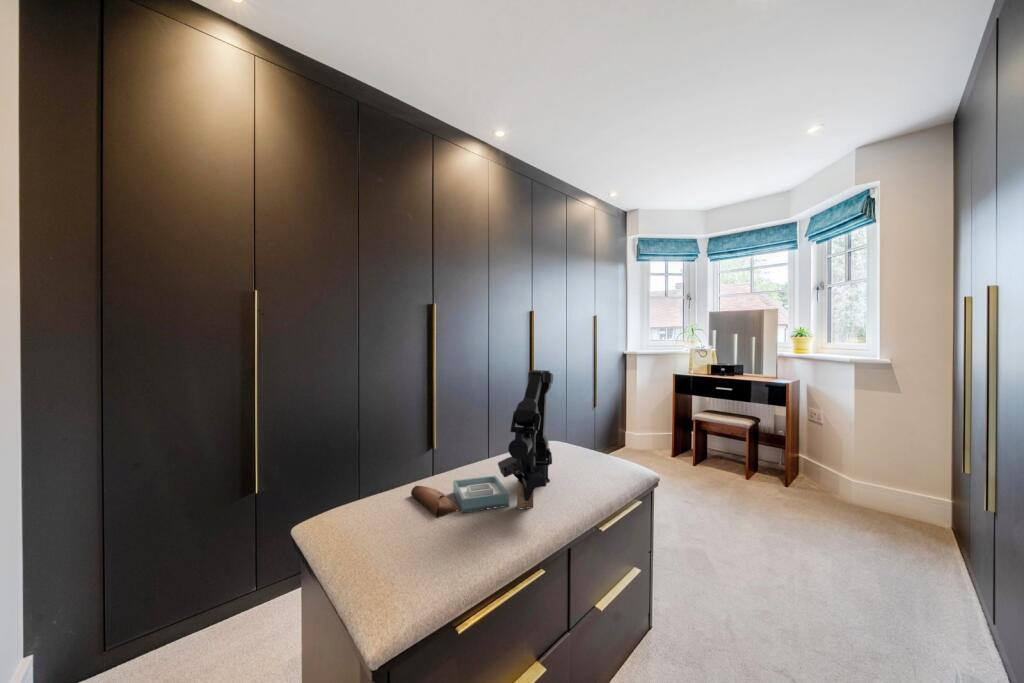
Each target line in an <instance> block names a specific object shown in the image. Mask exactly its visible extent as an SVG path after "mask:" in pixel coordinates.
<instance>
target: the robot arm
mask: <svg viewBox="0 0 1024 683" xmlns="http://www.w3.org/2000/svg"><path fill="white" fill-rule="evenodd" d="M553 381H554V374H553V373H552V372H551V371H550V370H545V369H543V370H542V369H541V370H540V369H532V370H530V371H528V372H527V385H526V389H525V392H524V397H523V398H522V400H521V401H520V402H518V404H517V406H516V409H515V410H514V411H513V415H512V420H511V424H510V425H511V426H510V430H509V431H510V433H514V434H515V435H514V437H513V439H512V440H511V441H510V442H509V445H508V449H507V450H508V453H509V455H510V456H509V457H506V458H504V459H502V460H499V462H497V466H498V469H499V471H500V474H501V475H502V476H503V477H504V478H507V477H509V476H514V477H515V478H516V479H517V480H519V482H520V483H521V484H522V485H523V490H524V497H525V501H529V499H530V497H531V495H532V493H533V494H534V491H535V489H536V488H543V487H544V488H545V487H546V486H547V483H549V482H550V481H551V480H550V478H549V466H550V465H553V455H552V452H551V449H550V448H549V446H550V443H549V440H548V438H547V437H546V435H545V434H546V412H547V409H546V408H547V395H548V393H549V392H550V390H551V388H552V384H553Z"/></svg>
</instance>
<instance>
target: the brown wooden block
mask: <svg viewBox="0 0 1024 683" xmlns="http://www.w3.org/2000/svg"><path fill="white" fill-rule="evenodd" d="M516 487H517V488H516V489H517V491H516V497H517V498H516V506H517V505H518V506H517V508H518V507H519V508H526V509H528V508H527V507H532V508H534V492H533V493H532V495H531V497H530V499H529V501H525V497H524V490H523V485H522V484H521V483H520V482H519V480H518V479H517V486H516ZM519 508H518V509H519Z"/></svg>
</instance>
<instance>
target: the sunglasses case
mask: <svg viewBox="0 0 1024 683" xmlns="http://www.w3.org/2000/svg"><path fill="white" fill-rule="evenodd" d="M410 494H411V496H412V497H413V498H414V499H416V500H417V501H418V502H420V503H421V504H422V505H423V506H425V508H427V509H428V510H429V511H430V512H431V513H432V514H433V515H434V516H435V517H436V518H438V519H439V518H441V517H443V516H447V515H450V514H452V512H453V513H455V512H457V511H456V510H458V509H459V510H460V507H459V506H457V505H456V504H455V503H454V502H452V500H450V499H449V498H448V497H447V496H445V493H443V492H442V491H440V490H437V489H435V488H432V487H427V486H425V485H415V486H413V488H412V489H411V491H410ZM459 510H458V511H459ZM449 513H450V514H449Z"/></svg>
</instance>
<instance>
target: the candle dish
mask: <svg viewBox="0 0 1024 683" xmlns="http://www.w3.org/2000/svg"><path fill="white" fill-rule="evenodd" d="M452 484H453V486H452V487H453V488H452V490H453V491H452V492H453V495H454V498H455V497H456V498H455V501H456V503H457V502H458V503H457V505H458V504H459V505H458V508H459V510H460V509H461V510H460V512H461V513H462V514H464V513H463V512H465V513H471V512H470V511H472V512H476V511H475V510H479V511H482V510H481V509H486V510H488V509H487V508H493V509H495V508H494V507H500V508H502V507H501V506H506V505H509V506H510V492H509V491H508V490H507V488H506V487H505V486H504V484H503V483H502V482H501V481H500V479H499V478H498V477H497V475H490V476H488V475H487V476H479V477H473V478H465V479H463V478H462V479H455V480H453V481H452ZM506 507H507V506H506Z"/></svg>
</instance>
